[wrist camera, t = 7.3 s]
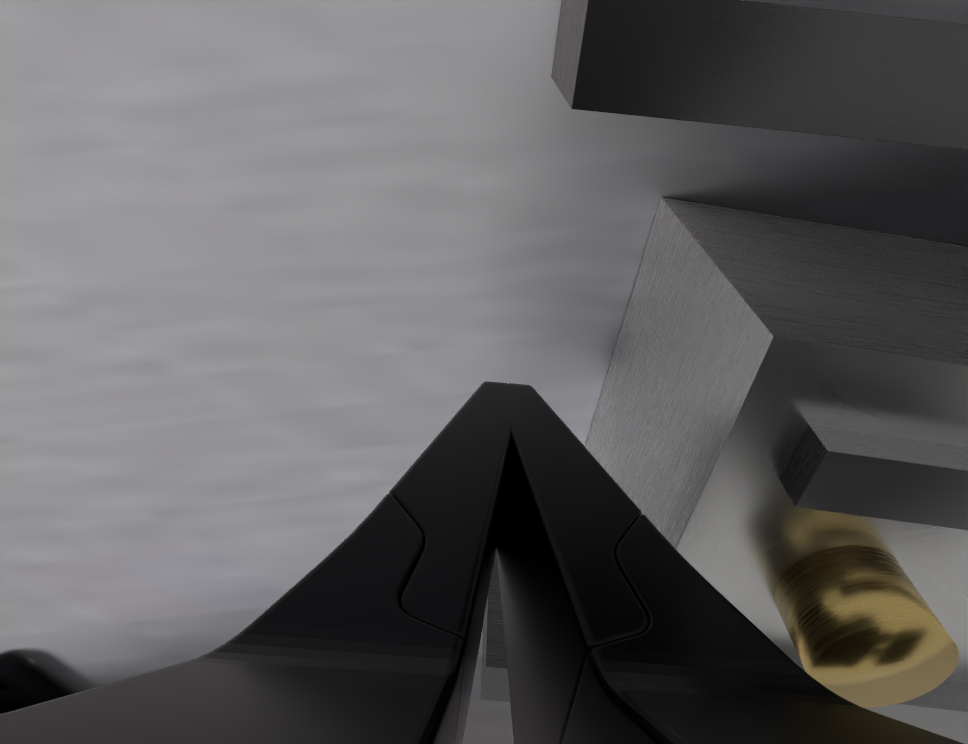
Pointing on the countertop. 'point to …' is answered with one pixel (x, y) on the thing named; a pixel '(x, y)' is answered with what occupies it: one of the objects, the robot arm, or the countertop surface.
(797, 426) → the block
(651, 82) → the bracket
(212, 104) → the countertop surface
